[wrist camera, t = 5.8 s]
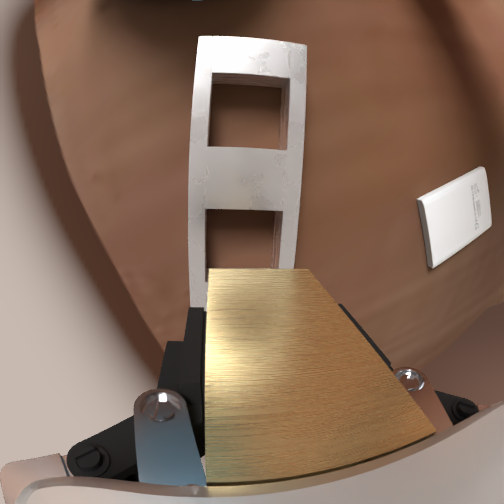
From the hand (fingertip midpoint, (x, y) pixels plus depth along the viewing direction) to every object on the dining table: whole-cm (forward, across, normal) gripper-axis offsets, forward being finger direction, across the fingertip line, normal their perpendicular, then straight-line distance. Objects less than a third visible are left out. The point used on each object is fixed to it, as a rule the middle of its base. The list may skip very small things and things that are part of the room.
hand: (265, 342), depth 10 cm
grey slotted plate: (+14, 0, -6) cm, 15 cm away
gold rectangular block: (+2, 0, 0) cm, 2 cm away
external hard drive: (+15, -25, -4) cm, 29 cm away
